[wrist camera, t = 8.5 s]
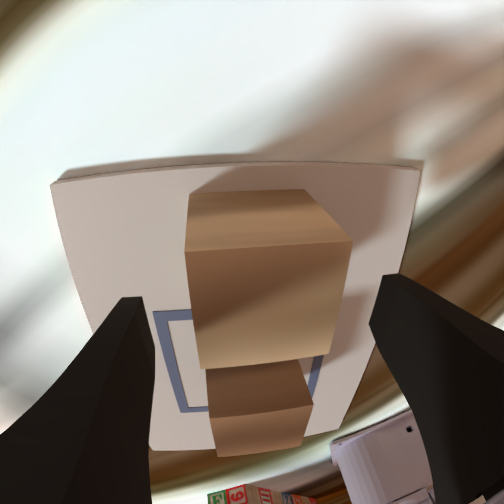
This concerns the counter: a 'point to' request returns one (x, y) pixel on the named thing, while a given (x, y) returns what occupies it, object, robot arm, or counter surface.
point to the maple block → (263, 276)
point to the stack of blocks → (255, 496)
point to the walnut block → (258, 407)
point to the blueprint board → (175, 275)
